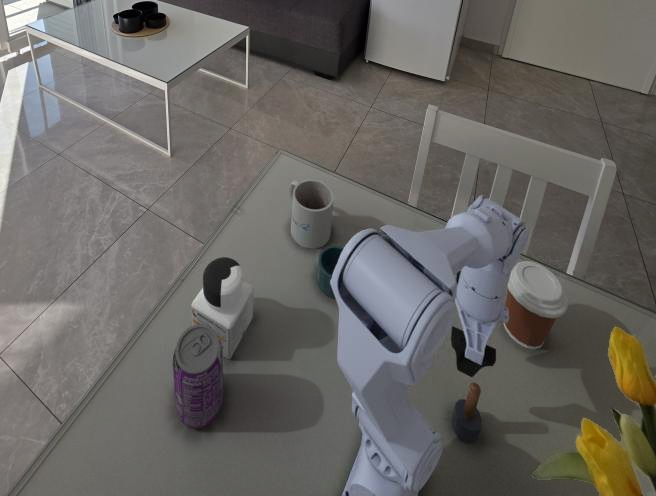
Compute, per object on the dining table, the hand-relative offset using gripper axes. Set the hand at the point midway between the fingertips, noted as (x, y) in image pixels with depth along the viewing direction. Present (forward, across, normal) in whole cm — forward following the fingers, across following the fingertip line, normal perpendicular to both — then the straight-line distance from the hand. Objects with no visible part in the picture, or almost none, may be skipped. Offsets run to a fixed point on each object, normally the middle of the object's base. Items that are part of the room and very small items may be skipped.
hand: (466, 344), depth 64 cm
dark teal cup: (+10, +7, +22) cm, 25 cm away
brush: (+10, -5, -2) cm, 11 cm away
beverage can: (+10, -20, +35) cm, 41 cm away
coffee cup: (+10, +15, -10) cm, 20 cm away
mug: (+10, +17, +32) cm, 38 cm away
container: (+10, -10, +37) cm, 40 cm away
